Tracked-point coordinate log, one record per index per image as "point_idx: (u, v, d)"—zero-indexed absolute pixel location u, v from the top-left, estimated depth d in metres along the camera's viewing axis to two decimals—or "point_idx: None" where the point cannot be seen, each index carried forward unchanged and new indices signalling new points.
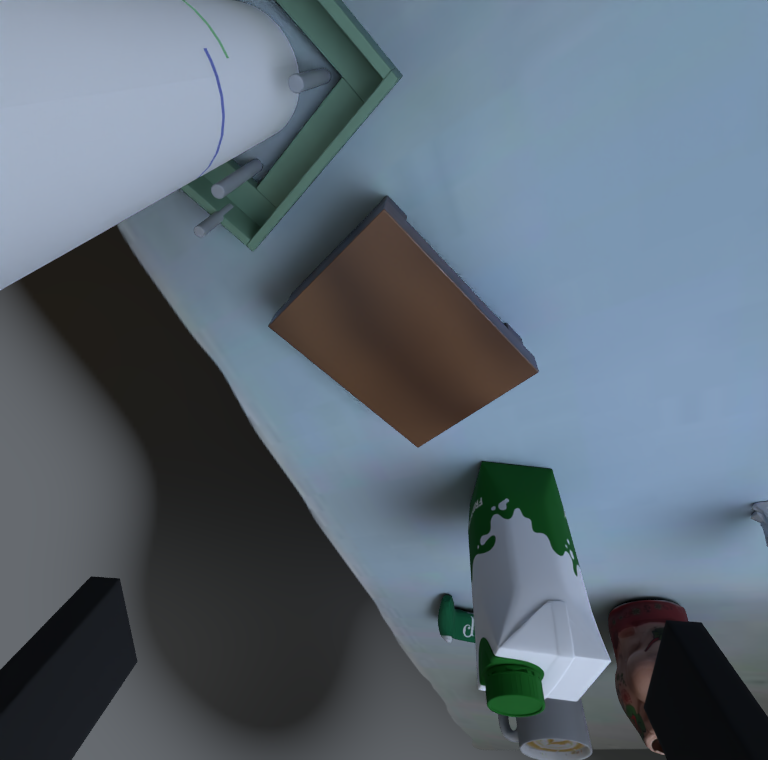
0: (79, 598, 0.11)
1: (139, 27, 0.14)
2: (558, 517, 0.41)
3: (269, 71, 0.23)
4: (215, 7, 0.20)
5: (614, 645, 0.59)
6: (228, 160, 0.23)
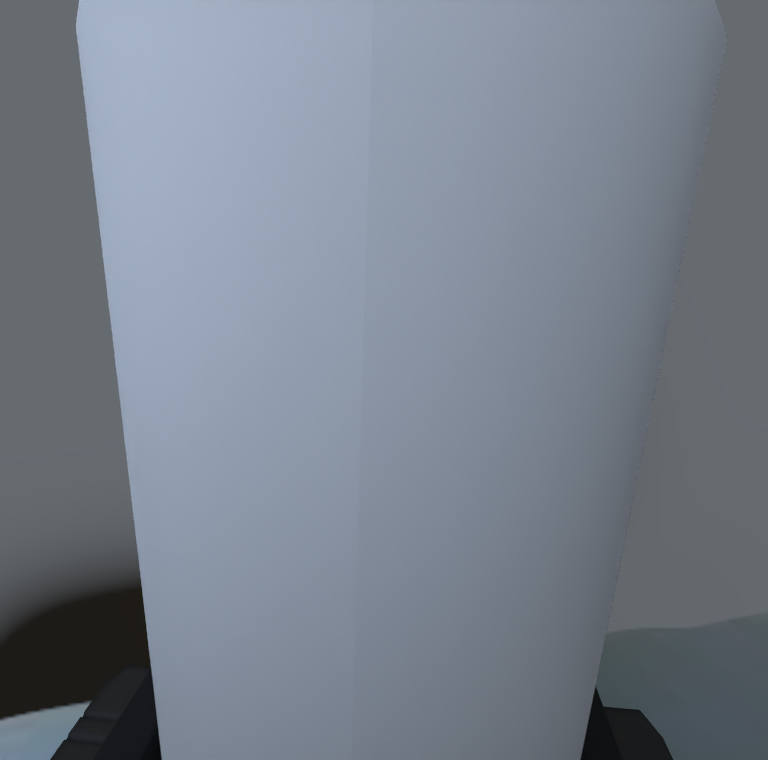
0: None
1: None
2: None
3: None
4: None
5: None
6: None
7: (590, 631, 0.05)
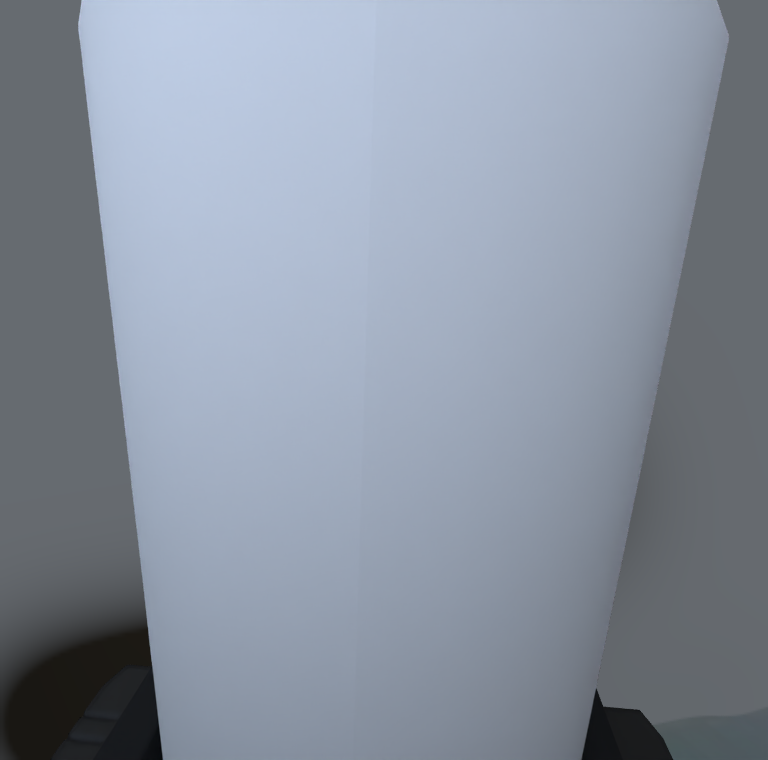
0: None
1: None
2: None
3: None
4: None
5: None
6: None
7: (591, 631, 0.05)
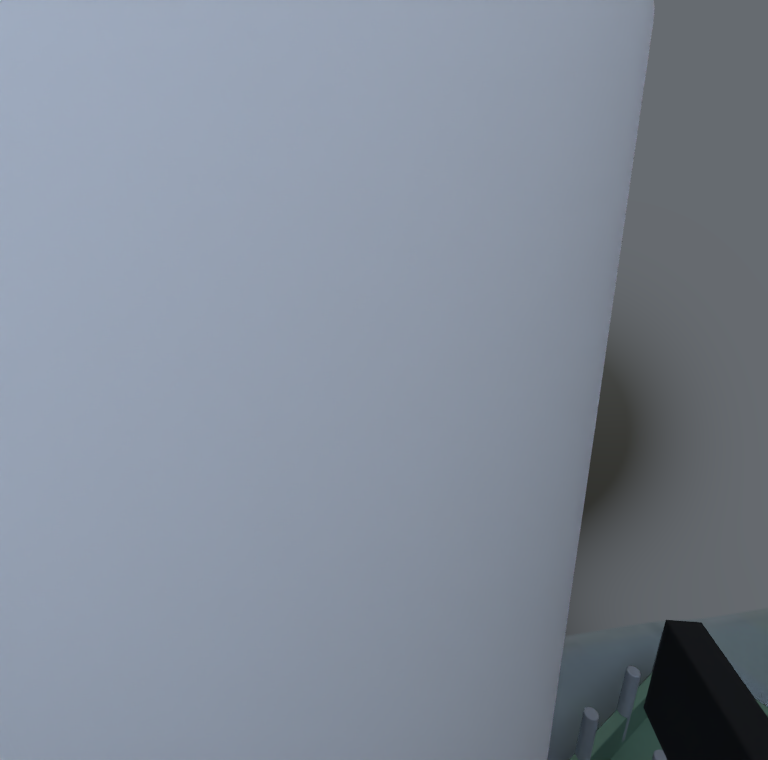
0: None
1: None
2: None
3: None
4: None
5: None
6: None
7: None
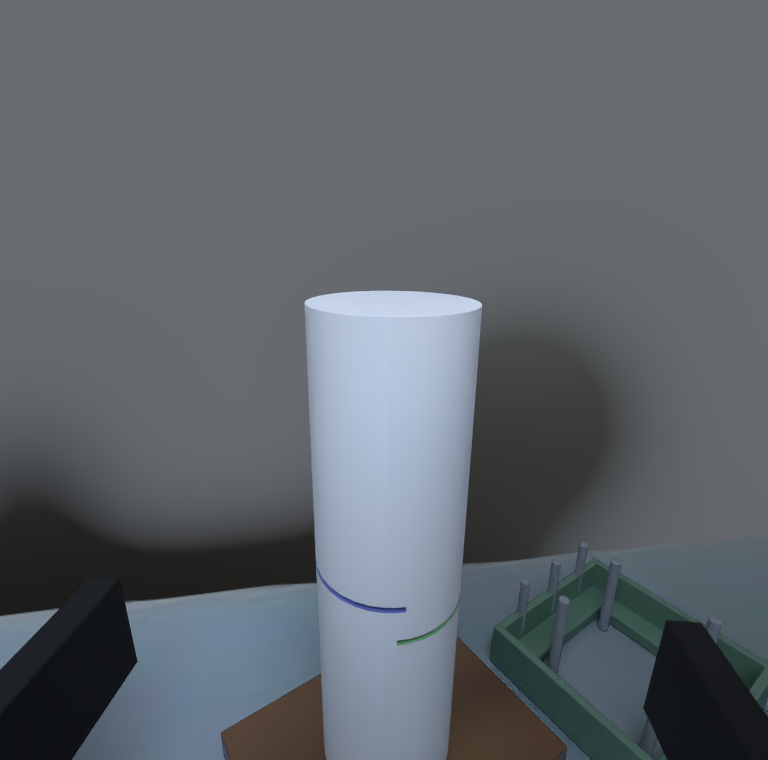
0: (78, 598, 0.11)
1: (423, 531, 0.18)
2: None
3: (380, 725, 0.21)
4: (437, 675, 0.21)
5: None
6: (319, 630, 0.23)
7: (451, 462, 0.18)
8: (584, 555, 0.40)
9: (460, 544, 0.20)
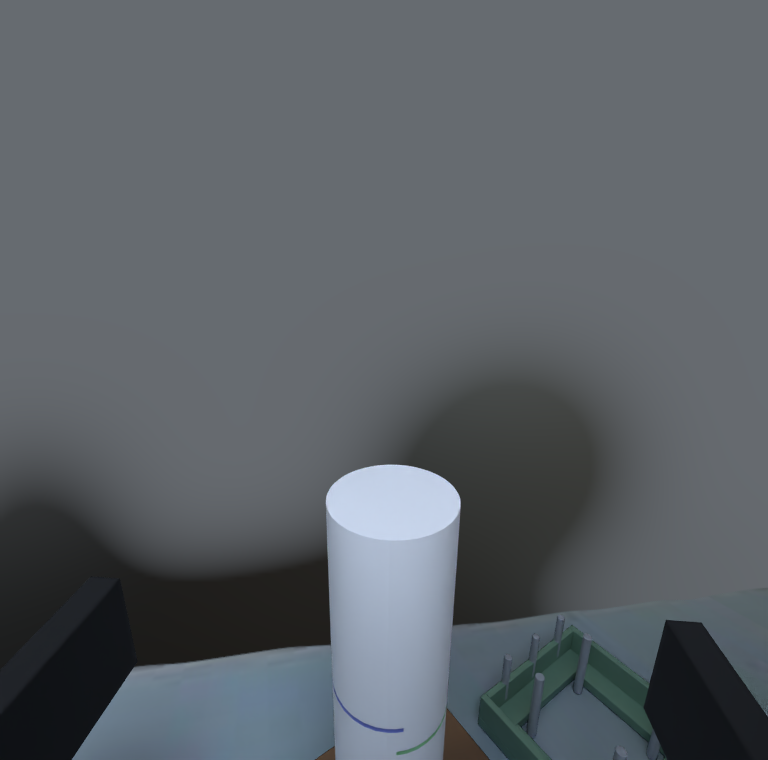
0: (78, 598, 0.11)
1: (416, 676, 0.24)
2: None
3: None
4: None
5: None
6: (335, 731, 0.28)
7: (437, 625, 0.24)
8: (561, 627, 0.46)
9: (445, 673, 0.26)
